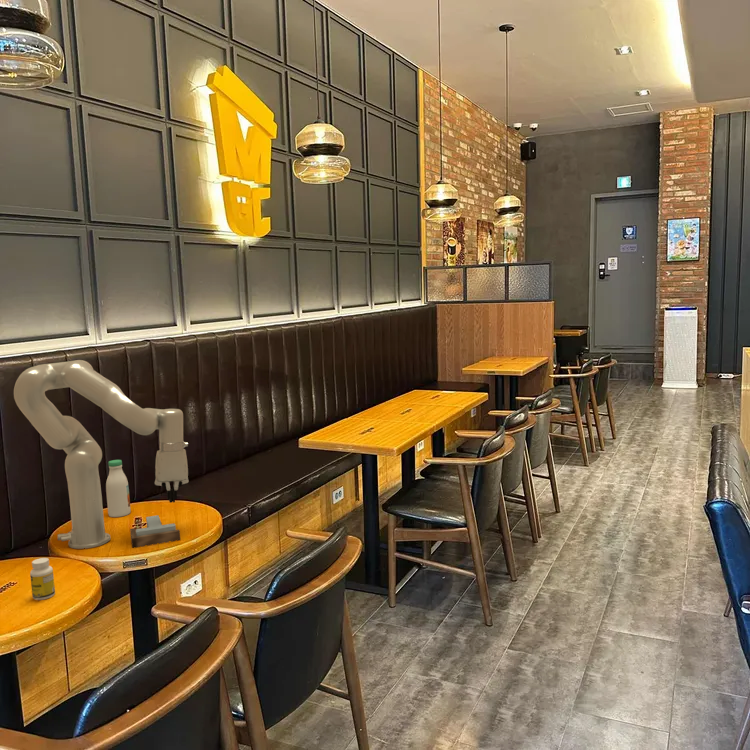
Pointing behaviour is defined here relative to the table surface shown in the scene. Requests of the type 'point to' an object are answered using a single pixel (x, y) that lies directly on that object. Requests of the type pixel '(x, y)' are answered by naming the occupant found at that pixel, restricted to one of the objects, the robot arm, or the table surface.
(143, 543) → the corner fence
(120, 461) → the milk bottle
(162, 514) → the table surface
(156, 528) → the t block
